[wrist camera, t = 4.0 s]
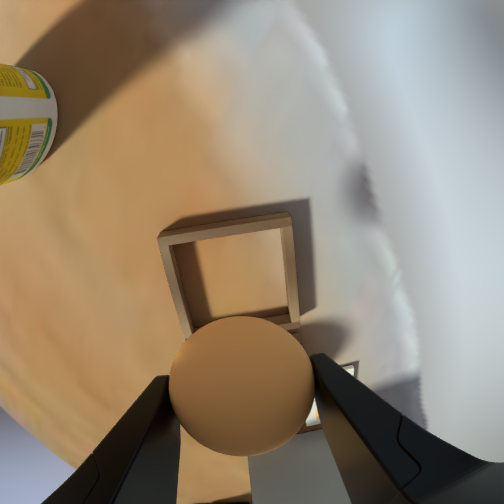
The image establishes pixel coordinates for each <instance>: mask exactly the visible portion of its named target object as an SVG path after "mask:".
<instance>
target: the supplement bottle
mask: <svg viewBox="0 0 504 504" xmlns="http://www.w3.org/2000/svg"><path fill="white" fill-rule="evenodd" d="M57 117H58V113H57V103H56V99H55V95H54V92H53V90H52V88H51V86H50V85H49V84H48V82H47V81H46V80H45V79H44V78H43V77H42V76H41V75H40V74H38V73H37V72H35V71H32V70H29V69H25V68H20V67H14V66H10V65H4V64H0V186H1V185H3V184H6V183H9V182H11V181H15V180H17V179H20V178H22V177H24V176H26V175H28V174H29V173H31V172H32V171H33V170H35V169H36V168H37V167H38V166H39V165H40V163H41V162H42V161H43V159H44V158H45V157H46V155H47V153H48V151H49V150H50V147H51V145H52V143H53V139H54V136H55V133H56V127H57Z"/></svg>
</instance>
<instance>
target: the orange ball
mask: <svg viewBox="0 0 504 504" xmlns="http://www.w3.org/2000/svg"><path fill="white" fill-rule="evenodd" d="M169 394H170V401H171V404H172V407H173V410H174V413H175V415H176V417H177V419H178V420H179V422H180V424H181V425H182V427H183V428H184V429H185V430H186V431H187V433H188V434H189V435H190V436H191V437H193V438H194V439H195V440H196V441H197V442H199V443H200V444H202V445H203V446H205V447H207V448H209V449H211V450H213V451H216V452H219V453H222V454H226V455H232V456H254V455H259V454H263V453H266V452H269V451H272V450H274V449H276V448H278V447H280V446H282V445H283V444H285V443H286V442H287V441H289V440H290V439H291V438H292V437H293V436H294V435H295V434H296V433H297V432H298V431H299V430H300V429H301V428H302V426H303V425H304V423H305V422H306V420H307V418H308V416H309V414H310V412H311V409H312V406H313V402H314V397H315V376H314V372H313V368H312V364H311V362H310V359H309V357H308V355H307V353H306V352H305V350H304V348H303V347H302V346H301V344H300V343H299V342H298V341H297V340H296V339H295V338H294V337H293V336H292V335H291V334H290V333H289V332H288V331H286V330H285V329H283V328H282V327H280V326H278V325H276V324H274V323H272V322H270V321H267V320H264V319H261V318H256V317H249V316H236V317H228V318H223V319H219V320H216V321H213V322H211V323H209V324H207V325H205V326H203V327H202V328H200V329H199V330H197V331H196V332H195V333H193V334H192V335H191V336H190V337H189V338H188V339H187V340H186V341H185V343H184V344H183V345H182V346H181V348H180V349H179V351H178V353H177V355H176V357H175V359H174V361H173V364H172V368H171V371H170V376H169Z"/></svg>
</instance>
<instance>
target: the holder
mask: <svg viewBox="0 0 504 504" xmlns="http://www.w3.org/2000/svg"><path fill="white" fill-rule="evenodd" d="M276 228H280V231H281V240H282V250H283V259H284V269H285V279H286V290H287V300H288V311H289V314H284V315H278V316H272V317H266V318H261V319H264V320H267V321H270V322H272V323H274V324H276V325H278V326H280V327H282V328H283V329H285V330H291V329H296V328H300V316H299V302H298V288H297V276H296V264H295V252H294V241H293V230H292V220H291V216H290V214H289V213H288V212H282V213H275V214H268V215H261V216H255V217H248V218H242V219H235V220H229V221H223V222H216V223H210V224H204V225H198V226H192V227H186V228H180V229H174V230H169V231H163V232H160V234H159V235H158V237H157V240H158V245H159V249H160V253H161V256H162V260H163V264H164V268H165V272H166V276H167V279H168V283H169V287H170V290H171V294H172V297H173V301H174V304H175V308H176V311H177V314H178V318H179V321H180V324H181V328H182V331H183V334H184V337H185V341H186V340H187V339H188V338H189V337H190V336H191V335H192V334H193V333H195V332H196V331H197V330H199V329H200V328H202V327H198V328H194V327H193V323H192V319H191V316H190V312H189V309H188V305H187V301H186V297H185V294H184V290H183V286H182V282H181V278H180V274H179V270H178V266H177V262H176V258H175V254H174V250H173V245H174V244H180V243H186V242H193V241H199V240H205V239H211V238H217V237H224V236H230V235H236V234H243V233H249V232H256V231H262V230H269V229H276ZM291 335H292V336H293V337H294V338H295V339H296V340H297V341H298V342H299V343H300V344H301V340H300V337H299V334H298V333H293V334H291Z"/></svg>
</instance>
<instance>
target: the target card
mask: <svg viewBox="0 0 504 504" xmlns="http://www.w3.org/2000/svg"><path fill="white" fill-rule="evenodd" d="M342 368H344V369H345V370H346V371H347V372H349V373H350V374H351V375H354V367H353V365H349V366H345V367H342ZM316 424H321V423H320V419H319V415H318V411H317V406H316V402H315V398H314V402H313V406H312V409H311V412H310V414H309V416H308V418H307V420H306V426H312V425H316Z"/></svg>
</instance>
